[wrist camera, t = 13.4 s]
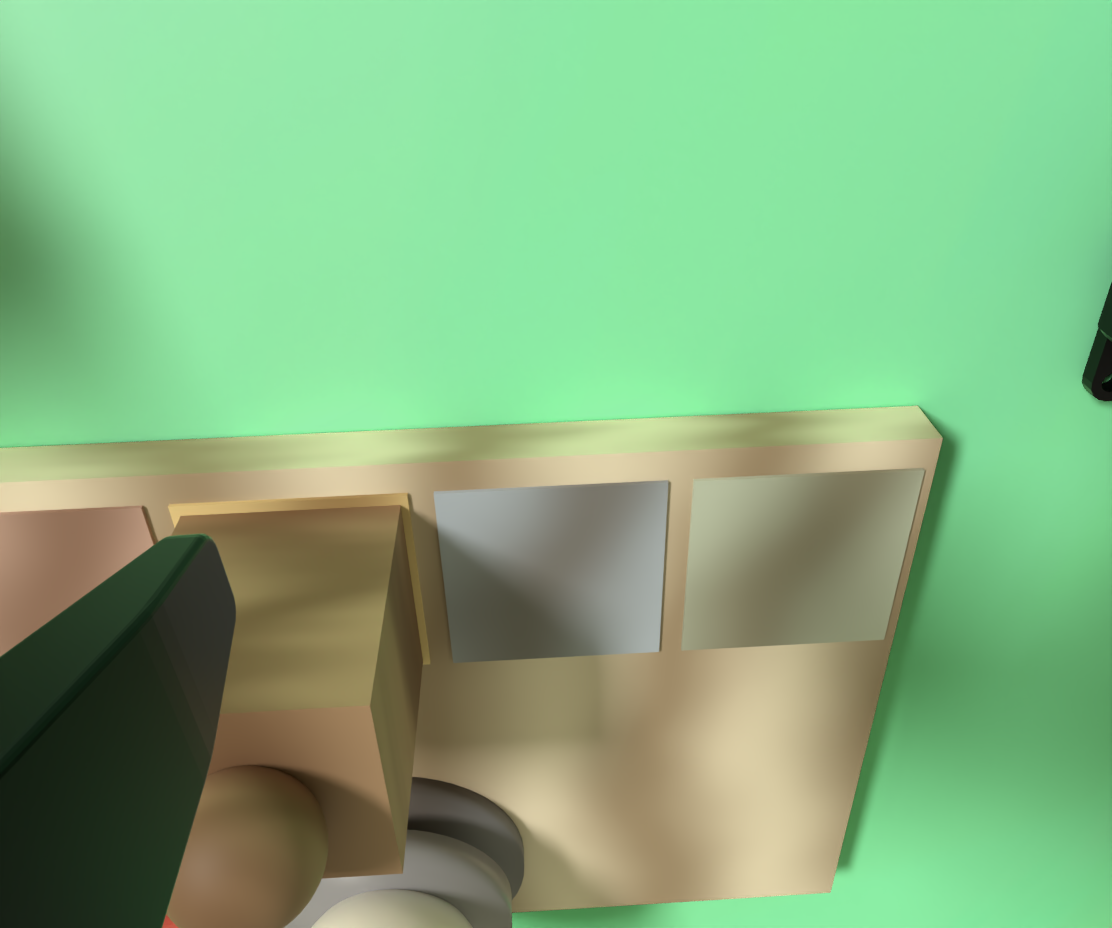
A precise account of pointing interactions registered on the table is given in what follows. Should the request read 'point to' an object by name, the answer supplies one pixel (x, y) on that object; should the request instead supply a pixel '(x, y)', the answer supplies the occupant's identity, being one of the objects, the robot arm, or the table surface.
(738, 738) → the game board
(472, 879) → the dome
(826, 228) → the table surface
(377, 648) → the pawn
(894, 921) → the table surface
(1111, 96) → the table surface
